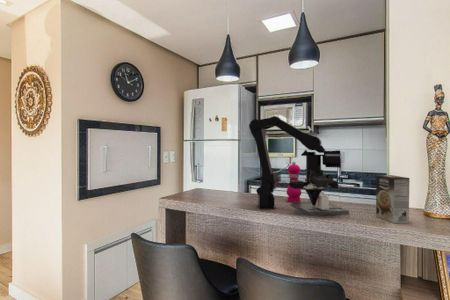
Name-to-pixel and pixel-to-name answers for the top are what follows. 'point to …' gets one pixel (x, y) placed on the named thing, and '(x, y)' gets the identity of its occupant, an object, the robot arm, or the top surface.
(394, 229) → the top surface
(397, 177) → the coffee box
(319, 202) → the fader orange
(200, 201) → the top surface
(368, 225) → the top surface
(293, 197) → the pepper mill
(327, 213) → the mixer panel
